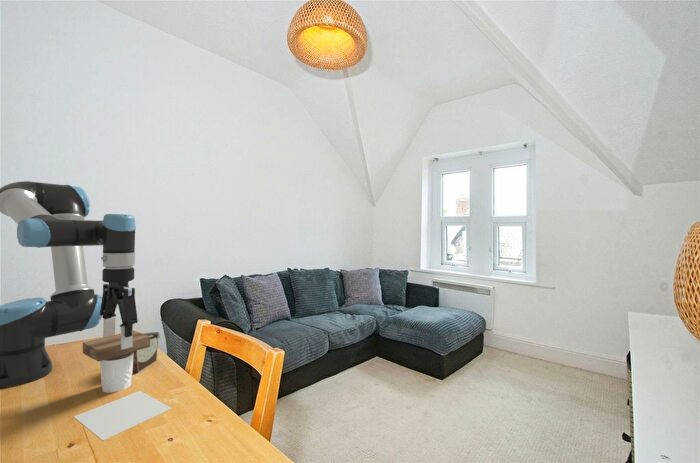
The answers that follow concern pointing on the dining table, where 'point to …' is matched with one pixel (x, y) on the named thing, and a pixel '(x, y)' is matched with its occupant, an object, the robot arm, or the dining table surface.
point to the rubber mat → (121, 414)
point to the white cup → (116, 373)
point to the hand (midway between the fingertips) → (117, 344)
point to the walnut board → (113, 346)
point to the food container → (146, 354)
